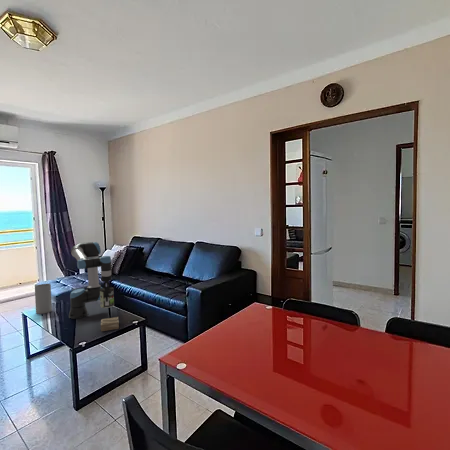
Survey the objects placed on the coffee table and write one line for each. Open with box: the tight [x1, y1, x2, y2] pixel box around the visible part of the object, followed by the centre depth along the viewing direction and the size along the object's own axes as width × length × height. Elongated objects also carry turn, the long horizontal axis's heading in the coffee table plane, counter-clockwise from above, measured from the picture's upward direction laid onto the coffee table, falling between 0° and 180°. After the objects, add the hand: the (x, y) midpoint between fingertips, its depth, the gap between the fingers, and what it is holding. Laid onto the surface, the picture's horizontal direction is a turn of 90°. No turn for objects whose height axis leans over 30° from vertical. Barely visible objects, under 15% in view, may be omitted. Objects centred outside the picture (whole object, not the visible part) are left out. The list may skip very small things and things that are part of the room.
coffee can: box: [99, 286, 115, 309], centre depth 229 cm, size 10×10×14 cm
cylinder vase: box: [34, 283, 53, 315], centre depth 268 cm, size 12×12×25 cm
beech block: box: [100, 316, 120, 332], centre depth 232 cm, size 13×13×5 cm
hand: (107, 303), depth 230 cm, fingers closed on coffee can, 10 cm apart
